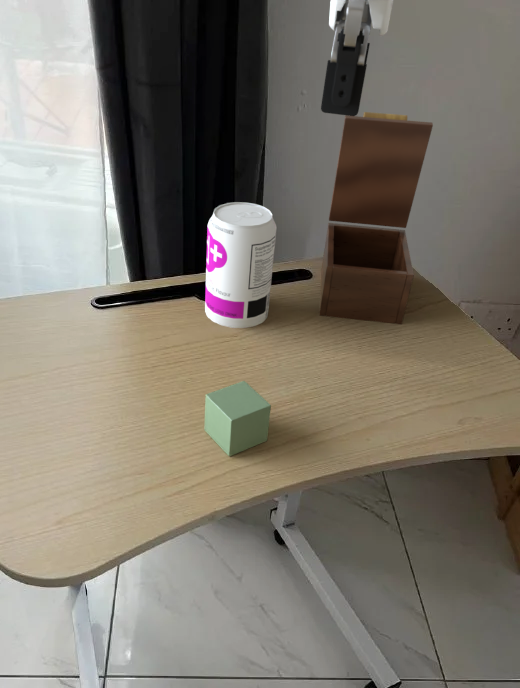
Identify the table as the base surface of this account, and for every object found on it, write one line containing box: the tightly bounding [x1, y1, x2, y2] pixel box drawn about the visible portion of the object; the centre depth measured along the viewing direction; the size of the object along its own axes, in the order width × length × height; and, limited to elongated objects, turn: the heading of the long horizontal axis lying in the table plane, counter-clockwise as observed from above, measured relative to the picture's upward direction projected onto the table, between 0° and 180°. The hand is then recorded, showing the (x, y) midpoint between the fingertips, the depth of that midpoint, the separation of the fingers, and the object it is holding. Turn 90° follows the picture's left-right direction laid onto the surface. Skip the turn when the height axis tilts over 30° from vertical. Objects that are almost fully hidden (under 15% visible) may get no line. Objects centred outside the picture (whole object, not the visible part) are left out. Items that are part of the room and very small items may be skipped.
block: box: [203, 380, 272, 457], centre depth 68 cm, size 5×5×5 cm
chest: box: [318, 222, 415, 325], centre depth 89 cm, size 14×11×9 cm
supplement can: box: [204, 201, 278, 329], centre depth 82 cm, size 8×8×15 cm
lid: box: [328, 111, 434, 229], centre depth 88 cm, size 14×11×6 cm
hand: (342, 99), depth 61 cm, fingers open, 9 cm apart
